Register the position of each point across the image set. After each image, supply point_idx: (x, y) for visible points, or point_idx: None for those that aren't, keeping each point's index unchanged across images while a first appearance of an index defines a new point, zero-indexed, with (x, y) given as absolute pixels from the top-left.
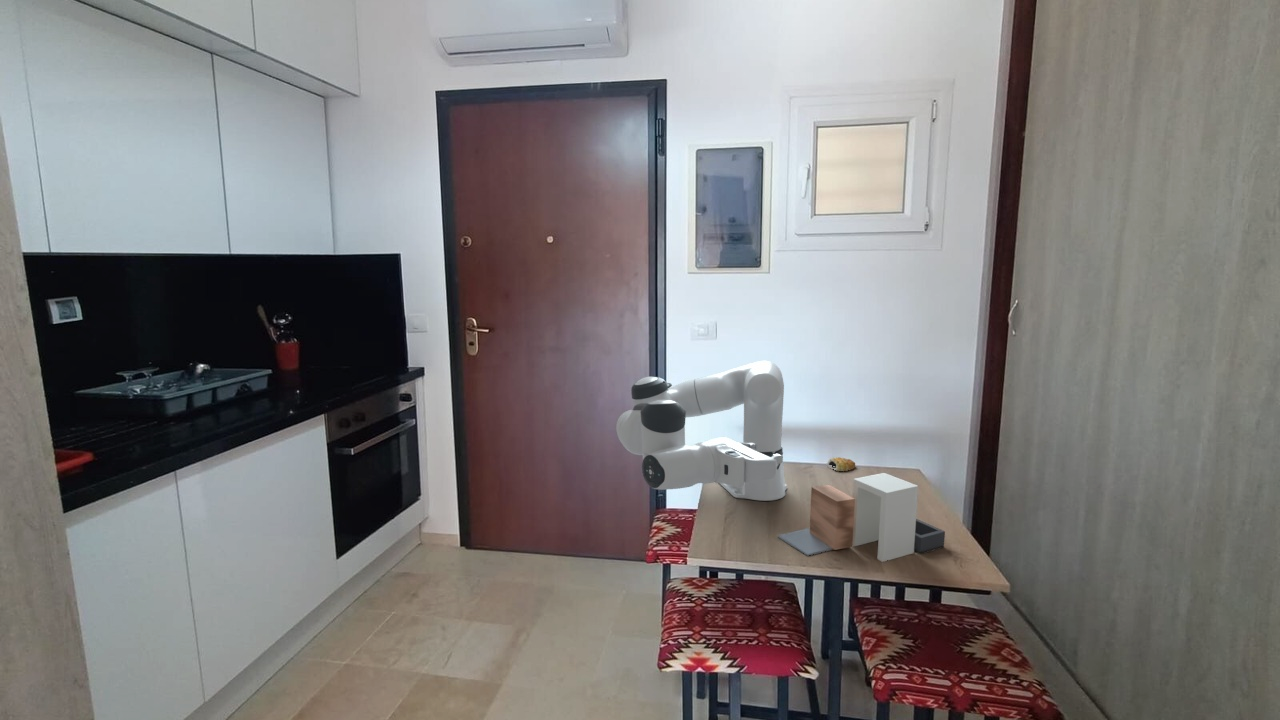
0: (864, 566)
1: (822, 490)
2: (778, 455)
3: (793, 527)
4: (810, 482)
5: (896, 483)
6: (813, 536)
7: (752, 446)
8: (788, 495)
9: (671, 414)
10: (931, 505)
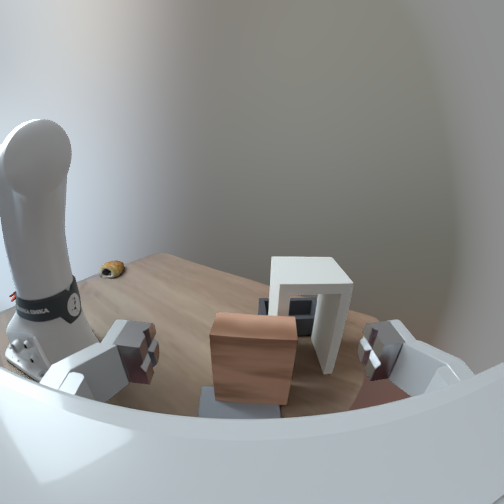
0: (338, 396)
1: (236, 331)
2: (403, 329)
3: (179, 404)
4: (104, 304)
5: (317, 264)
6: (230, 404)
7: (146, 349)
8: (102, 339)
9: None
10: (228, 276)
